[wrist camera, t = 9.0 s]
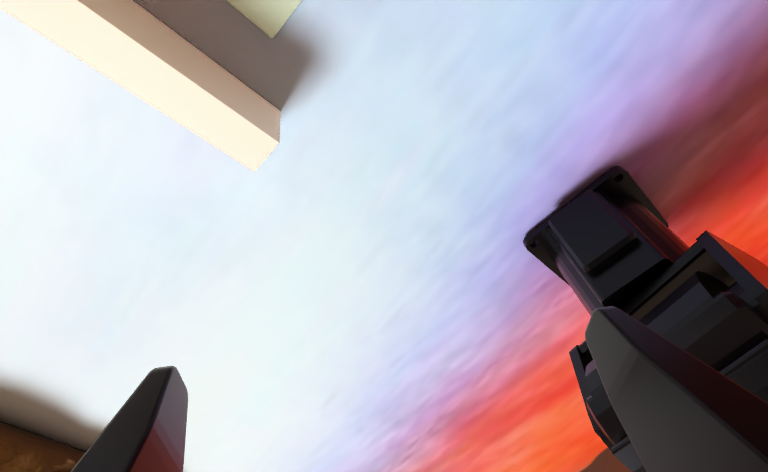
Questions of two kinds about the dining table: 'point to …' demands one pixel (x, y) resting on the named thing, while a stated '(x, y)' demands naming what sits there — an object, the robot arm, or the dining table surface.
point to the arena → (166, 66)
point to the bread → (34, 452)
